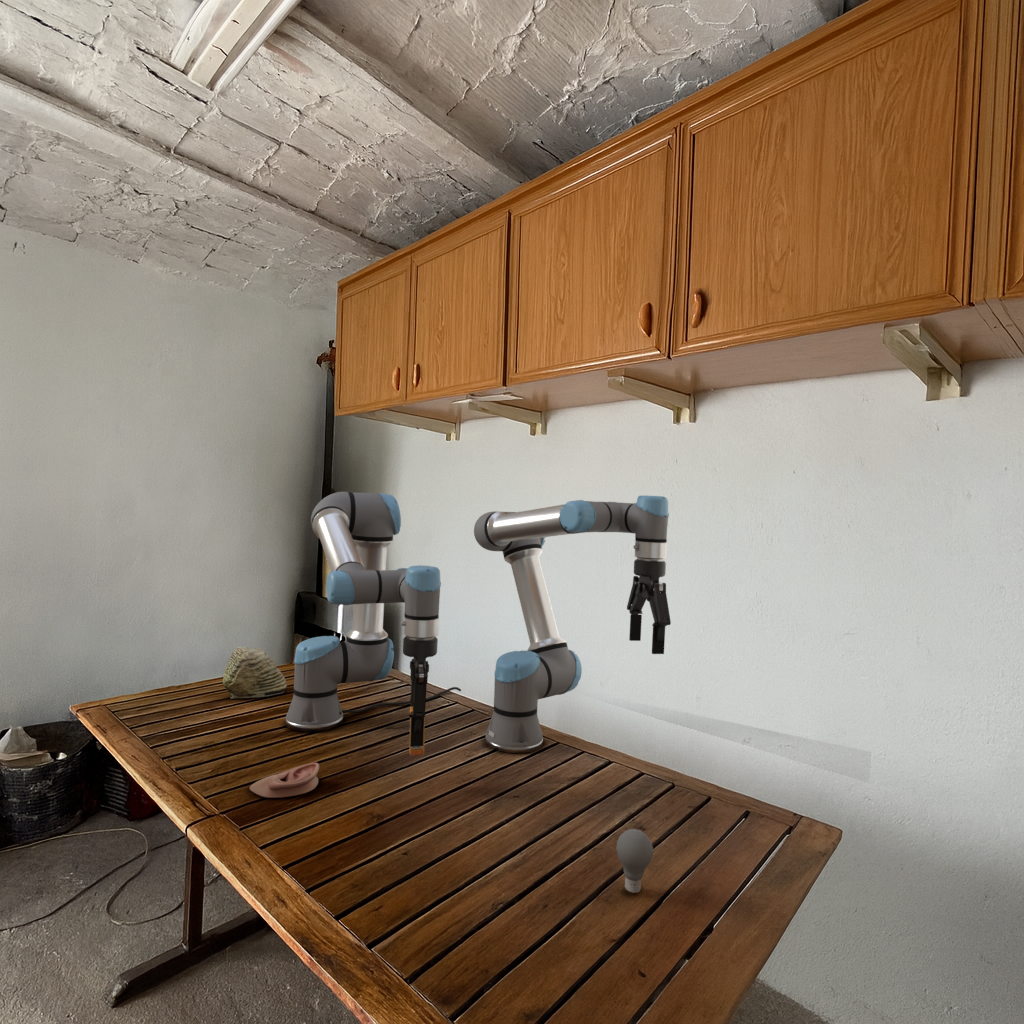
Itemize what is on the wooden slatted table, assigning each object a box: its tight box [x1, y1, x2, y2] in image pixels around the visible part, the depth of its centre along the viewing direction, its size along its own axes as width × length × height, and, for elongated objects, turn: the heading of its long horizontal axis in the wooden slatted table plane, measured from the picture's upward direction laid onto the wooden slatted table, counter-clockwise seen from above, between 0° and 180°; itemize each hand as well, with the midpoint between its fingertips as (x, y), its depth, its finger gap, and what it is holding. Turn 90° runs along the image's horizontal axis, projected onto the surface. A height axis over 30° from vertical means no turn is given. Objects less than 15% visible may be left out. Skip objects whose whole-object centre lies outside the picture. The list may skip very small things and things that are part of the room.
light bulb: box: [615, 828, 654, 894], centre depth 106 cm, size 6×6×10 cm
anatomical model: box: [249, 762, 320, 799], centre depth 137 cm, size 13×4×12 cm
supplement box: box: [408, 706, 425, 756], centre depth 140 cm, size 3×3×10 cm
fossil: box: [222, 646, 288, 699], centre depth 198 cm, size 9×18×15 cm, turn 132°
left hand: (416, 741), depth 140 cm, fingers closed on supplement box, 3 cm apart
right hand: (645, 646), depth 153 cm, fingers open, 13 cm apart
